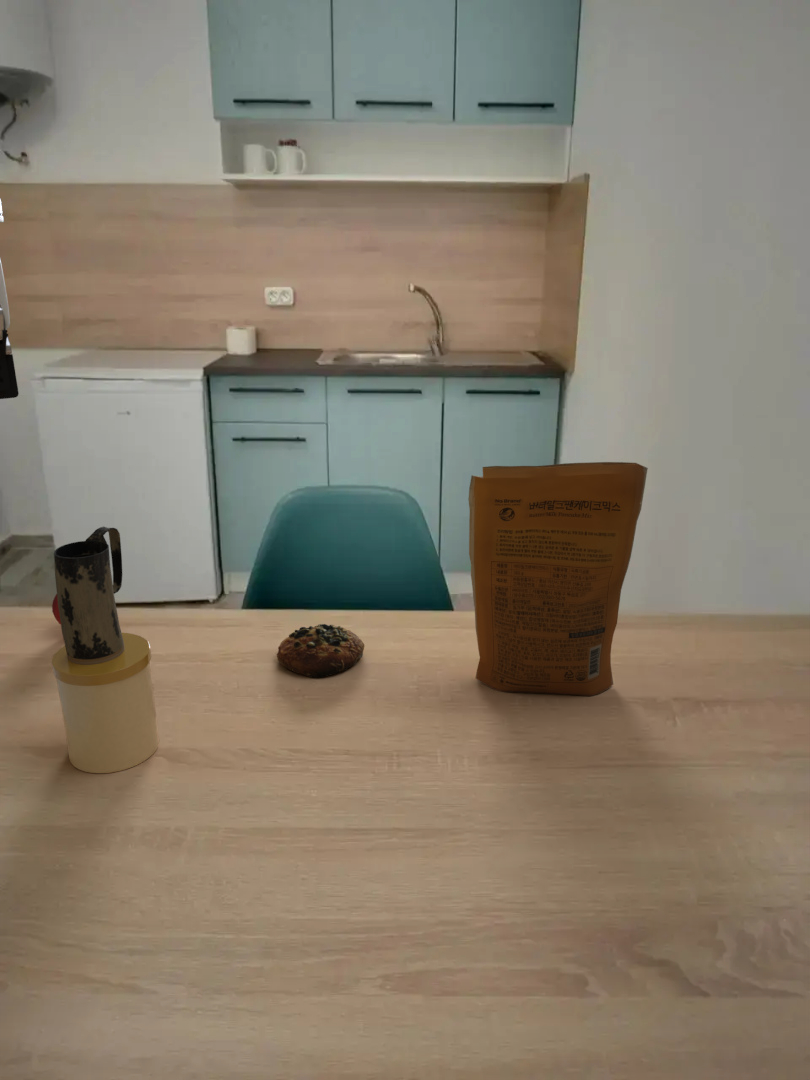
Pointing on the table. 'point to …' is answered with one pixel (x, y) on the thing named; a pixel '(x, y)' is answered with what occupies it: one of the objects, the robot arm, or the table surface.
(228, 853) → the table surface
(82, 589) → the mug
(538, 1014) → the table surface
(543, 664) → the pancake mix bag
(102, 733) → the jar
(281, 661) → the bread roll
